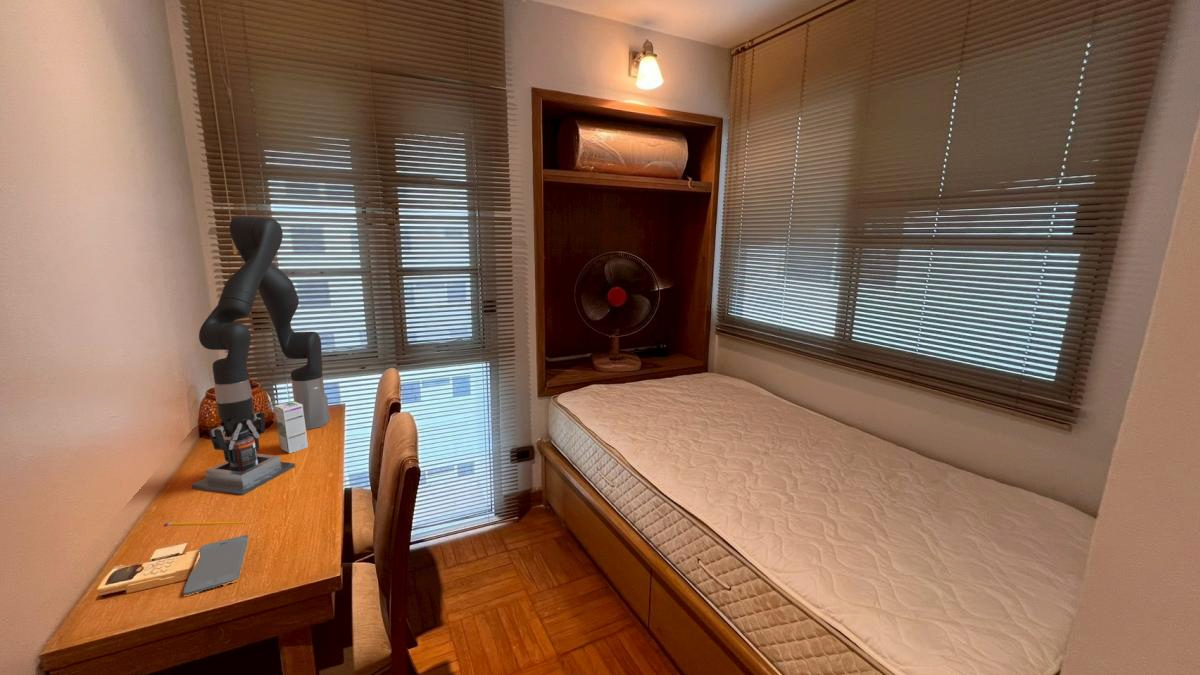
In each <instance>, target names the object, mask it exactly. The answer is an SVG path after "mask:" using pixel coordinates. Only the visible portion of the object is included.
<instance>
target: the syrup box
mask: <svg viewBox="0 0 1200 675" xmlns="http://www.w3.org/2000/svg"><path fill="white" fill-rule="evenodd" d="M274 410H275V411H274V412H275V413H274V414H275V419H276V425H277V433H278V440H279V446H280V447H279V448H280V450H281V451H283V452H286V453H288V454H293V452H294V453H296V451H297V452H300V451H302V449H303V450H305V448H306V449H308V448H309V444H308V437H307V436H308V435H307V429H306V427H305V420H304V412H303V405H302V404H300V403H297V402H294V400H291V401H287V402H283V403H279V404H277V405H274ZM299 450H300V451H299Z"/></svg>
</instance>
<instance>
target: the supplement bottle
mask: <svg viewBox="0 0 1200 675" xmlns="http://www.w3.org/2000/svg"><path fill="white" fill-rule="evenodd" d="M229 437H232V435H229ZM228 444H229V442H228ZM233 449H234V451H235V457H236V461H235V462H233V463H231V462H230V466H231V471H238V472H243V471H245V470H247V469H249V468H251V467H253V466H255V465H257V464H258V459H257V454H258V452H257V451H256V447H255V440H254V438H253V437H252V436H250V435H249V431H248V430H246V431H243V432H241V433H239V435H238V438H237V440H236V441H235V443H234V447H233Z"/></svg>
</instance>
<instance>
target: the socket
mask: <svg viewBox="0 0 1200 675" xmlns="http://www.w3.org/2000/svg"><path fill="white" fill-rule="evenodd" d="M257 459H258V464H257V465H255V466H253V467H251V468H249V469H247V470H245V471H243V472H238V471H231V466H230V462H227V461H226V460H225V461H224V462H222V463H220V464H217V465H216V466H213V467H210V468H208V469H206V470H205V475H206V477H205V478H204V477H203V479H200V480H198V481H196V482H194V483H191V485H190V486H191V489H195V490H203V491H209V492H215V493H218V492H219V493H223V494H225V493H226V494H232V495H240V496H244V495H246V494H248V493H249V492H251V491H253V490H255V489H257V488H259V487H260V486H263V485H264V484H266V483H268V482H269V480H270V481H271V480H274V479H275V478H277V477H279V476H280V474H281V475H282V474H285V473H286V472H288V471H290V470H291V468H292V469H293V468H296V463H293V462H286V461H281V457H280V455H279V456H278V455H273V454H265V453H264V454H263V453H257ZM289 469H290V470H289ZM267 481H268V482H267ZM258 486H259V487H258ZM256 487H257V488H256Z"/></svg>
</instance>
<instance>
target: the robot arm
mask: <svg viewBox="0 0 1200 675" xmlns="http://www.w3.org/2000/svg"><path fill="white" fill-rule="evenodd" d="M229 234H230V238H231V240H232V242H233V244H234V246H235V248H236V249H237V251H238V253H239V255H240V257H241V258H242V260H243V262H244V264H243V265H242V266H241V267H240V268H238V269H237V270H236V271H235V272H233V274H232V275H231V276H230V277H229V278H228V279H227V281H226V282H225V284H224V285H223V288H222V291H221V295H220V297H219V300H218V303H217V305H216V306H215V307H214V308H213V310H212V311H211V312H210V314H209V315H208V317H207V318H206V319H205V320H204V322H203V324H202V325H201V327H200V329H199V331H198V332H199V333H198V340H199V342H200V345H201V346H202V347H204V349H206V350H210V351H211V350H212V351H214V350H215V351H227V355H226V357H223V358H220V359H217V360H215V361H214V362H213V363H212V374H213V380H214V395H215V401H216V408H217V415H218V417H219V418H220V420H221V421H220V425H219V426H217V427H215V428H209V430H208V434H209V437H210V440H211V443H212V446H213V449H214V450H217V451H223V456H224V461H225V462H226V461H227V462H231V463H233V462H235V461H236V457H235V451H234V449H233V447H234V443H235V441H236V440H237V438H238V435H239V433H241V432H243V431H246V430H248V431H249V435H250V436H252V437H253V438H254V440H255V447H256V452H258V451H259V450H260V449H259V448H260V441H259V437H260V436H261V435H262V434H264V433H265V431H266V427H265V426H266V424H265V423H266V422H265V421H266V420H265V419H266V418H265V417H266V416H265V412H263V411H255V407H254V399H253V391H252V386H251V382H250V379H249V374H248V372H249V371H248V365H247V364H248V356H249V352H250V347H251V342H252V336H251V331H250V330H249V328H248V327H247V326H246V325H245V324H244V323H241V322H235V321H237V320H241V319H244V318H247V317H248V316H250V314H251V311H252V309H253V306H254V303H255V298H256V296H257V292H258V293H259V295H260V298H261V300H262V302H263V304H264V307H265V309H266V311H267V312H268V315H269V317H270V320H271V321H272V324H273V328H274V330H275V334H276V336H277V340H278V344H279V345H280V349H281V352H282V354H283V355H284V356H285V357H286V358H287V359H290V360H307V362H306V364H305V365H303V366H300V367H298V368H295V369H292V370H291V372H290V380H291V387H292V388H291V389H292V396H293V401H294V402H297V403H300V404H302V405H303V412H304V420H305V427H306V430H313V429H318V428H320V427H324V426H326V425H327V424H328V422H330V420H331V419H330V412H329V402H328V396H327V395H326V394H325V393H326V392H325V385H324V378H323V357H322V355H323V354H322V351H323V350H322V340H321V336H320V335H319V333H318V332H316V331H294V330H293V328H292V324H291V323H292V320H293V317H294V315H295V313H296V312H297V310H298V306H299V303H300V300H299V296H298V293H297V290H296V287H295V285H294V283H293V281H292V279H290V277H288V275H286V274H285V273H284V272H283V271H282V270H281V269H279V268H278V267H277V266H276V265H275V264H273V260H274V259H275V257H276V255H277V254H278V251H279V249H280V247H281V244H282V241H283V229H282V226H281V224H280V223H279V222H278V221H277V220H276V219H274V218H270V217H262V216H246V215H245V216H244V215H243V216H242V215H240V216H235V217H233V218H231V220H230V222H229ZM230 435H232V437H230ZM228 442H229V444H228Z"/></svg>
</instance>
